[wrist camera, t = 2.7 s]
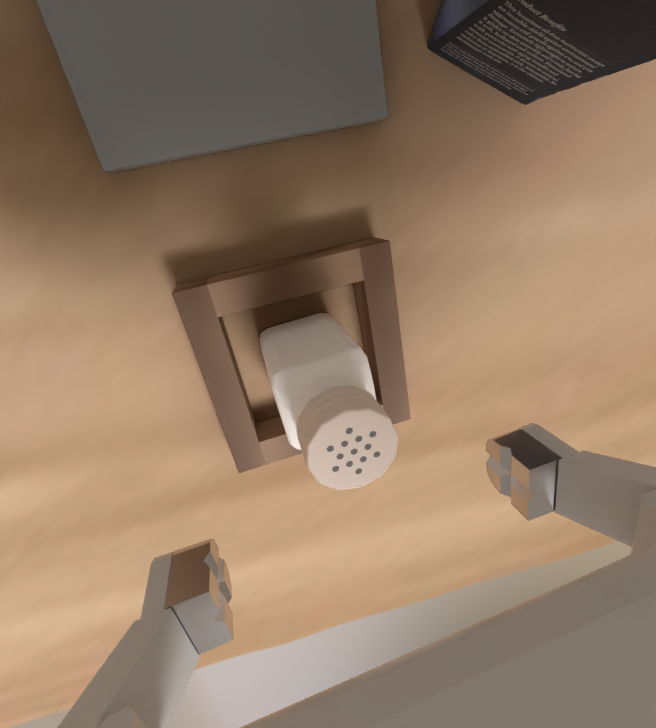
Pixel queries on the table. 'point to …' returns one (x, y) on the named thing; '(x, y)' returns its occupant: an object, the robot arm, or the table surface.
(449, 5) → the small box
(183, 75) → the mat
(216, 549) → the robot arm
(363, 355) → the pepper shaker
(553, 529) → the table surface
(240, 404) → the collar
